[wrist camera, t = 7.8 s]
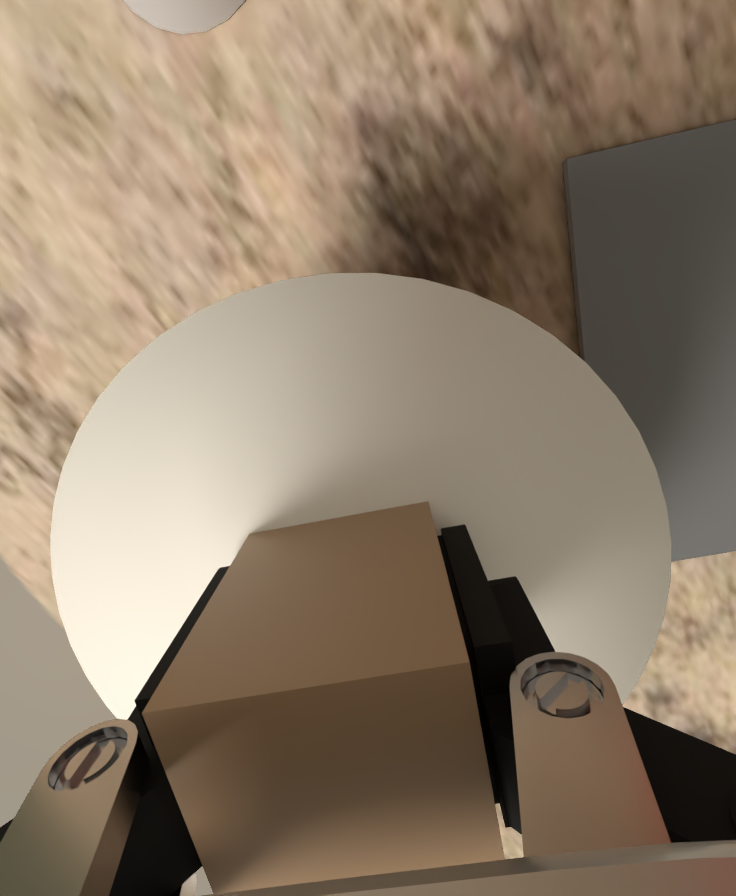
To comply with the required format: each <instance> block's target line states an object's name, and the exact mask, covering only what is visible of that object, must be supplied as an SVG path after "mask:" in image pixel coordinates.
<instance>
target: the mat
mask: <svg viewBox="0 0 736 896" xmlns="http://www.w3.org/2000/svg"><path fill="white" fill-rule="evenodd" d="M563 173H564V185H565V196H566V207H567V218H568V229H569V240H570V251H571V262H572V273H573V284H574V295H575V306H576V317H577V328H578V339H579V350H580V358H581V359H582V360H583V361H585V362H586V363H587V364H588V365H589V366H590V367H591V369H592V370H593V371H594V372H595V373H596V374H597V375H598V376H599V378H600V379H601V380H602V381H603V382H604V383H605V384H606V385H607V386H608V388H609V389H610V390H611V391H612V392H613V393H614V394H615V395H616V397H617V398H618V400H619V401H620V403H621V404H622V406H623V407H624V409H625V411H626V412H627V414H628V415H629V417H630V418H631V420H632V421H633V423H634V424H635V426H636V427H637V429H638V430H639V432H640V434H641V437H642V439H643V441H644V443H645V445H646V448H647V450H648V452H649V454H650V456H651V458H652V461H653V463H654V465H655V467H656V470H657V474H658V477H659V481H660V484H661V488H662V491H663V495H664V498H665V502H666V505H667V512H668V520H669V528H670V536H671V562H672V561H678V560H684V559H690V558H696V557H702V556H708V555H714V554H720V553H726V552H732V551H736V119H735V120H731V121H727V122H722V123H718V124H714V125H710V126H705V127H701V128H697V129H692V130H688V131H684V132H679V133H675V134H671V135H666V136H662V137H658V138H654V139H649V140H645V141H641V142H636V143H632V144H628V145H623V146H619V147H615V148H610V149H606V150H602V151H598V152H593V153H589V154H585V155H580V156H576V157H572V158H567V159H566V160H565V161H564V162H563Z"/></svg>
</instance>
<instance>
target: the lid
mask: <svg viewBox="0 0 736 896" xmlns="http://www.w3.org/2000/svg"><path fill="white" fill-rule="evenodd" d="M463 524H465V525H466V528H467V530H468V533H469V535H470V537H471V540H472V542H473V545H474V547H475V550H476V552H477V555H478V557H479V560H480V562H481V565H482V567H483V570H484V572H485V575H486V577H487V580H488V581H489V580H495V579H501V578H507V577H513V576H515V577H517V579H518V580H519V582H520V584H521V586H522V588H523V590H524V592H525V594H526V596H527V598H528V600H529V601H530V603H531V605H532V607H533V609H534V611H535V613H536V615H537V617H538V619H539V621H540V623H541V625H542V627H543V628H544V630H545V632H546V634H547V636H548V638H549V640H550V642H551V644H552V646H553V648H554V650H555V652H563V653H571V654H574V655H578V656H582V657H585V658H587V659H588V660H590V661H592V662H594V663H596V664H598V665H599V666H600V667H601V668H602V669H603V670H605V671H606V672H607V673H608V674H609V676H610V677H611V679H612V681H613V683H614V684H615V686H616V689H617V692H618V695H619V697H620V700H621V703H622V705H623V703H624V702H625V700H626V699H627V697H628V696H629V694H630V693H631V692H632V690H633V689H634V687H635V686H636V684H637V682H638V680H639V678H640V676H641V674H642V672H643V670H644V668H645V666H646V664H647V662H648V660H649V658H650V656H651V654H652V652H653V649H654V646H655V643H656V640H657V637H658V634H659V631H660V628H661V625H662V622H663V619H664V615H665V609H666V604H667V598H668V592H669V587H670V579H671V536H670V528H669V520H668V512H667V505H666V502H665V498H664V495H663V491H662V488H661V484H660V481H659V477H658V474H657V470H656V467H655V465H654V463H653V461H652V458H651V456H650V454H649V452H648V450H647V448H646V445H645V443H644V441H643V439H642V437H641V434H640V432H639V430H638V429H637V427H636V426H635V424H634V423H633V421H632V420H631V418H630V417H629V415H628V414H627V412H626V411H625V409H624V407H623V406H622V404H621V403H620V401H619V400H618V398H617V397H616V395H615V394H614V393H613V392H612V391H611V390H610V389H609V388H608V386H607V385H606V384H605V383H604V382H603V381H602V380H601V379H600V378H599V376H598V375H597V374H596V373H595V372H594V371H593V370H592V369H591V367H590V366H589V365H588V364H587V363H586V362H585V361H583V360H582V359H581V358H580V357H579V356H577V355H576V354H575V353H574V352H573V351H571V350H570V349H569V348H568V347H567V346H565V345H564V344H563V343H562V342H561V341H559V340H558V339H557V338H556V337H555V336H553V335H552V334H550V333H549V332H547V331H546V330H544V329H542V328H541V327H539V326H537V325H536V324H534V323H533V322H531V321H529V320H528V319H526V318H524V317H523V316H521V315H520V314H518V313H516V312H515V311H513V310H511V309H508V308H506V307H504V306H501V305H499V304H497V303H495V302H492V301H490V300H488V299H485V298H483V297H481V296H478V295H476V294H474V293H471V292H469V291H465V290H462V289H458V288H454V287H451V286H447V285H443V284H440V283H436V282H432V281H429V280H425V279H419V278H412V277H404V276H396V275H389V274H381V273H326V274H320V275H313V276H306V277H300V278H293V279H286V280H280V281H277V282H273V283H270V284H267V285H263V286H260V287H257V288H253V289H250V290H246V291H243V292H240V293H236V294H234V295H232V296H230V297H227V298H225V299H223V300H221V301H219V302H217V303H214V304H212V305H210V306H208V307H206V308H204V309H201V310H199V311H197V312H195V313H193V314H192V315H190V316H189V317H187V318H186V319H184V320H182V321H181V322H179V323H178V324H176V325H175V326H173V327H172V328H170V329H169V330H167V331H166V332H164V333H162V334H161V335H159V336H158V337H157V338H155V339H154V340H153V341H152V342H151V343H150V344H149V345H147V346H146V347H145V348H144V349H143V350H142V351H141V352H140V353H138V354H137V355H136V356H135V357H134V358H133V359H132V360H131V361H129V362H128V363H127V364H126V365H125V366H124V367H123V368H122V370H121V371H120V372H119V373H118V374H117V376H116V377H115V378H114V379H113V380H112V382H111V383H110V384H109V385H108V386H107V387H106V389H105V390H104V391H103V392H102V393H101V395H100V396H99V397H98V399H97V400H96V402H95V404H94V405H93V407H92V408H91V410H90V412H89V413H88V415H87V417H86V418H85V420H84V422H83V423H82V425H81V427H80V428H79V430H78V432H77V434H76V436H75V439H74V441H73V444H72V446H71V448H70V451H69V453H68V456H67V458H66V461H65V463H64V465H63V468H62V472H61V476H60V480H59V484H58V488H57V492H56V496H55V500H54V505H53V516H52V527H51V538H50V547H51V565H52V579H53V584H54V589H55V594H56V599H57V604H58V609H59V613H60V616H61V619H62V622H63V625H64V627H65V630H66V633H67V636H68V639H69V642H70V645H71V647H72V649H73V651H74V653H75V655H76V657H77V659H78V661H79V663H80V665H81V667H82V669H83V671H84V673H85V675H86V676H87V678H88V680H89V681H90V683H91V684H92V686H93V687H94V688H95V690H96V691H97V693H98V694H99V696H100V697H101V699H102V700H103V702H104V703H105V705H106V706H107V707H108V708H109V710H110V711H111V712H112V713H113V714H114V715H115V716H116V717H117V719H125V720H128V718H129V716H130V715H131V713H132V712H133V710H134V708H135V707H136V703H135V699H136V697H137V696H138V694H139V693H140V691H141V690H142V688H143V686H144V685H145V683H146V682H147V680H148V679H149V677H150V675H151V674H152V672H153V671H154V669H155V668H156V666H157V664H158V663H159V661H160V660H161V658H162V657H163V655H164V653H165V652H166V650H167V649H168V647H169V646H170V644H171V642H172V641H173V639H174V638H175V636H176V635H177V633H178V631H179V630H180V628H181V627H182V625H183V624H184V622H185V620H186V619H187V617H188V616H189V614H190V613H191V611H192V609H193V608H194V606H195V605H196V603H197V602H198V600H199V598H200V597H201V595H202V594H203V592H204V591H205V589H206V587H207V586H208V584H209V583H210V581H211V580H212V578H213V576H214V575H215V573H216V572H217V570H218V569H219V568H221V567H226V566H230V567H229V568H228V570H227V572H226V573H225V575H224V577H223V578H222V580H221V582H220V583H219V585H218V587H217V588H216V590H215V592H214V593H213V595H212V597H211V598H210V600H209V602H208V603H207V605H206V607H205V608H204V610H203V612H202V613H201V615H200V617H199V618H198V620H197V622H196V623H195V625H194V627H193V628H192V630H191V632H190V633H189V635H188V637H187V638H186V640H185V642H184V643H183V645H182V647H181V648H180V650H179V652H178V653H177V655H176V657H175V658H174V660H173V662H172V663H171V665H170V667H169V668H168V670H167V672H166V673H165V675H164V677H163V679H162V680H161V682H160V684H159V685H158V687H157V689H156V690H155V692H154V694H153V695H152V697H151V699H150V700H149V702H148V704H147V705H146V707H145V709H144V710H143V712H142V715H143V717H144V720H145V722H146V725H147V727H148V730H149V732H150V735H151V737H152V740H153V742H154V745H155V748H156V750H157V753H158V755H159V758H160V760H161V763H162V765H163V768H164V770H165V773H166V775H167V778H168V780H169V783H170V785H171V788H172V790H173V793H174V795H175V798H176V800H177V803H178V805H179V808H180V810H181V813H182V815H183V818H184V820H185V823H186V825H187V828H188V830H189V833H190V835H191V838H192V840H193V843H194V846H195V848H196V851H197V853H198V856H199V858H200V861H201V863H202V866H203V868H204V870H205V873H206V875H207V878H208V881H209V883H210V886H211V888H212V891H213V893H214V894H219V893H227V892H236V891H244V890H252V889H260V888H268V887H277V886H285V885H293V884H301V883H309V882H318V881H326V880H334V879H342V878H351V877H359V876H368V875H376V874H385V873H394V872H402V871H411V870H420V869H428V868H437V867H445V866H454V865H463V864H471V863H480V862H488V861H497V860H505V858H504V853H503V847H502V841H501V836H500V830H499V824H498V819H497V813H496V808H495V802H494V796H493V791H492V785H491V780H490V774H489V768H488V763H487V757H486V752H485V746H484V740H483V735H482V729H481V724H480V718H479V712H478V707H477V701H476V695H475V690H474V684H473V679H472V673H471V667H470V662H469V658H468V654H467V650H466V646H465V642H464V639H463V635H462V631H461V627H460V623H459V619H458V615H457V611H456V607H455V604H454V600H453V596H452V592H451V588H450V584H449V580H448V576H447V572H446V568H445V565H444V561H443V557H442V553H441V549H440V545H439V541H438V537H437V536H439V535H441V528H446V527H452V526H458V525H463Z"/></svg>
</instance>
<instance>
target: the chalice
mask: <svg viewBox="0 0 736 896" xmlns="http://www.w3.org/2000/svg"><path fill="white" fill-rule="evenodd" d="M244 1H245V0H124V2H125V3H126V4H127V5H128V7H129V8H130V9H131V10H132V11H133V12H134V13H135V14H137V15H138V16H140V17H141V18H143V19H144V20H146V21H147V22H148V23H150V24H151V25H153V26H154V27H156V28H160V29H163V30H167V31H170V32H174V33H178V34H188V33H198V32H206V31H208V30H210V29H211V28H213V27H215V26H217V25H219V24H221V23H223V22H225V21H227V20H228V19H229V18H230V17H231V16H232V15H233V14H234V12H235V11H236V10H237V9H238V8H239V7H240V6H241V5H242V4H243V2H244Z"/></svg>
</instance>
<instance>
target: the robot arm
mask: <svg viewBox="0 0 736 896" xmlns="http://www.w3.org/2000/svg"><path fill="white" fill-rule="evenodd" d="M437 537H438V541H439V545H440V549H441V553H442V557H443V561H444V565H445V568H446V572H447V576H448V580H449V584H450V588H451V592H452V596H453V600H454V604H455V607H456V611H457V615H458V619H459V623H460V627H461V631H462V635H463V639H464V642H465V646H466V650H467V654H468V658H469V662H470V667H471V673H472V679H473V684H474V690H475V695H476V701H477V707H478V712H479V718H480V724H481V729H482V735H483V740H484V746H485V752H486V757H487V763H488V768H489V774H490V780H491V785H492V791H493V796H494V802H495V804H497V803H500V807H501V811H502V815H503V819H504V823H505V827H512V828H513V829H515V830H516V831H517V832H519V833H520V834H522V840H523V852H524V857H523V858H514V859H506V860H497V861H488V862H480V863H471V864H463V865H454V866H445V867H437V868H428V869H420V870H411V871H402V872H394V873H385V874H376V875H368V876H359V877H351V878H342V879H334V880H326V881H318V882H309V883H301V884H293V885H285V886H277V887H268V888H260V889H252V890H244V891H236V892H227V893H219V894H211V895H203V896H736V755H735V754H733V753H730V752H728V751H726V750H723V749H721V748H719V747H716V746H714V745H712V744H709V743H707V742H704V741H702V740H700V739H697V738H695V737H693V736H690V735H688V734H686V733H683V732H681V731H678V730H676V729H674V728H671V727H669V726H667V725H664V724H662V723H660V722H657V721H655V720H652V719H650V718H648V717H645V716H643V715H641V714H638V713H636V712H633V711H631V710H629V709H626V708H624V707H623V706H622V703H621V700H620V697H619V695H618V692H617V689H616V686H615V684H614V683H613V681H612V679H611V677H610V676H609V674H608V673H607V672H606V671H605V670H603V669H602V668H601V667H600V666H599V665H598V664H596V663H594V662H592V661H590V660H588V659H587V658H585V657H582V656H578V655H574V654H571V653H563V652H555V650H554V648H553V646H552V644H551V642H550V640H549V638H548V636H547V634H546V632H545V630H544V628H543V627H542V625H541V623H540V621H539V619H538V617H537V615H536V613H535V611H534V609H533V607H532V605H531V603H530V601H529V600H528V598H527V596H526V594H525V592H524V590H523V588H522V586H521V584H520V582H519V580H518V579H517V577H515V576H513V577H507V578H501V579H495V580H489V581H488V580H487V577H486V575H485V572H484V570H483V567H482V565H481V562H480V560H479V557H478V555H477V552H476V550H475V547H474V545H473V542H472V540H471V537H470V535H469V533H468V530H467V528H466V525H465V524H463V525H458V526H452V527H446V528H441V535H439V536H437ZM229 567H230V566H226V567H221V568H219V569H218V570H217V572H216V573H215V575H214V576H213V578H212V580H211V581H210V583H209V584H208V586H207V587H206V589H205V591H204V592H203V594H202V595H201V597H200V598H199V600H198V602H197V603H196V605H195V606H194V608H193V609H192V611H191V613H190V614H189V616H188V617H187V619H186V620H185V622H184V624H183V625H182V627H181V628H180V630H179V631H178V633H177V635H176V636H175V638H174V639H173V641H172V642H171V644H170V646H169V647H168V649H167V650H166V652H165V653H164V655H163V657H162V658H161V660H160V661H159V663H158V664H157V666H156V668H155V669H154V671H153V672H152V674H151V675H150V677H149V679H148V680H147V682H146V683H145V685H144V686H143V688H142V690H141V691H140V693H139V694H138V696H137V697H136V699H135V703H136V707H135V708H134V710H133V712H132V713H131V715H130V716H129V718H128V720H125V719H115V720H109V721H105V722H102V723H99V724H97V725H94V726H91V727H90V728H88V729H86V730H84V731H83V732H81V733H79V734H77V735H76V736H74V737H73V738H72V739H70V740H69V741H68V742H66V743H65V744H64V745H63V746H61V748H59V749H58V751H57V752H56V753H54V754H53V756H51V758H50V759H49V760H48V762H47V763H46V764H45V766H44V767H43V769H42V770H41V771H40V773H39V775H38V777H37V779H36V780H35V782H34V784H33V786H32V787H31V789H30V791H29V793H28V794H27V796H26V798H25V800H24V802H23V803H22V805H21V807H20V809H19V810H18V812H17V814H16V816H15V818H14V819H12V820H11V821H9V822H8V823H6V824H5V825H3V826H2V827H0V896H195V893H196V878H197V876H196V874H195V872H196V871H197V870H198V869H199V868H200V867H201V866H202V863H201V861H200V858H199V856H198V853H197V851H196V848H195V846H194V843H193V840H192V838H191V835H190V833H189V830H188V828H187V825H186V823H185V820H184V818H183V815H182V813H181V810H180V808H179V805H178V803H177V800H176V798H175V795H174V793H173V790H172V788H171V785H170V783H169V780H168V778H167V775H166V773H165V770H164V768H163V765H162V763H161V760H160V758H159V755H158V753H157V750H156V748H155V745H154V742H153V740H152V737H151V735H150V732H149V730H148V727H147V725H146V722H145V720H144V717H143V715H142V712H143V710H144V709H145V707H146V705H147V704H148V702H149V700H150V699H151V697H152V695H153V694H154V692H155V690H156V689H157V687H158V685H159V684H160V682H161V680H162V679H163V677H164V675H165V673H166V672H167V670H168V668H169V667H170V665H171V663H172V662H173V660H174V658H175V657H176V655H177V653H178V652H179V650H180V648H181V647H182V645H183V643H184V642H185V640H186V638H187V637H188V635H189V633H190V632H191V630H192V628H193V627H194V625H195V623H196V622H197V620H198V618H199V617H200V615H201V613H202V612H203V610H204V608H205V607H206V605H207V603H208V602H209V600H210V598H211V597H212V595H213V593H214V592H215V590H216V588H217V587H218V585H219V583H220V582H221V580H222V578H223V577H224V575H225V573H226V572H227V570H228V568H229Z"/></svg>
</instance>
